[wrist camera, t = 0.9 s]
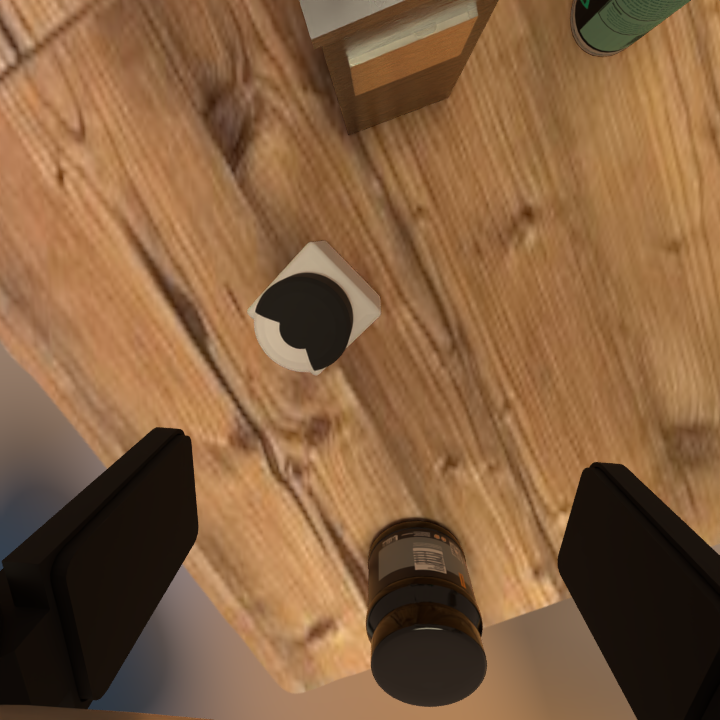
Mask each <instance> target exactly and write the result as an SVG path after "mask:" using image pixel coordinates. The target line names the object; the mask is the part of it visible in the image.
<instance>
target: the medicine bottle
mask: <svg viewBox="0 0 720 720" xmlns="http://www.w3.org/2000/svg"><path fill="white" fill-rule="evenodd" d="M247 313H248V315H249V316H250V317H251V318H252V319H253V320H254V329H255V334H256V337H257V340H258V342H259V344H260V346H261V348H262V349H263V351H264V352H265V353H266V354H267V356H268V357H270V358H271V359H272V360H273V361H274V362H276V363H277V364H279V365H280V366H282V367H284V368H287V369H289V370H293V371H298V372H311V373H312V374H313V375H318V374H320V373H321V372H322V371H323V370H324V369H325V368H326V367H328V366H329V365H331V364H332V363H334V362H335V361H336V360H337V359H338V358H339V357H340V356H341V355H342V353H343V352H344V350H345V349H346V348H347V347H348V346H349V345H350V344H351V343H352V342H353V341H354V340H355V339H356V338H358V337H359V336H360V335H361V334H362V333H363V332H364V331H365V330H366V329H367V328H368V327H369V326H370V325H371V324H372V323H373V322H374V321H375V320H376V319H377V318H378V317H379V316H380V315H381V299H380V296H379V295H378V294H377V293H376V292H375V291H374V290H373V289H372V288H371V287H370V286H369V284H368V283H367V282H366V281H365V280H364V279H363V278H362V277H361V276H360V275H359V274H358V273H357V272H356V271H355V270H354V269H353V268H352V267H351V266H350V265H349V264H348V263H347V262H346V261H345V260H344V259H343V258H342V257H341V256H340V255H339V254H338V253H337V252H336V251H335V250H334V249H333V248H332V247H331V246H330V244H329V243H328V242H326V241H325V240H322V241H315V242H309V243H308V244H307V245H306V246H305V247H304V248H303V249H302V250H301V251H300V252H299V253H298V254H297V256H296V257H295V258H294V259H293V260H292V261H291V262H290V263H289V264H288V265H287V266H286V268H285V269H284V270H283V271H282V272H281V273H280V274H279V275H278V276H277V277H276V279H275V280H274V281H273V282H272V283H271V284H270V285H269V286H268V287H267V288H266V289H265V291H264V292H263V293H262V294H261V295H260V296H259V297H258V298H257V299H256V300H255V302H254V303H253V304H252V305H251V306H250V307H249V308H248V310H247Z"/></svg>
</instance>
